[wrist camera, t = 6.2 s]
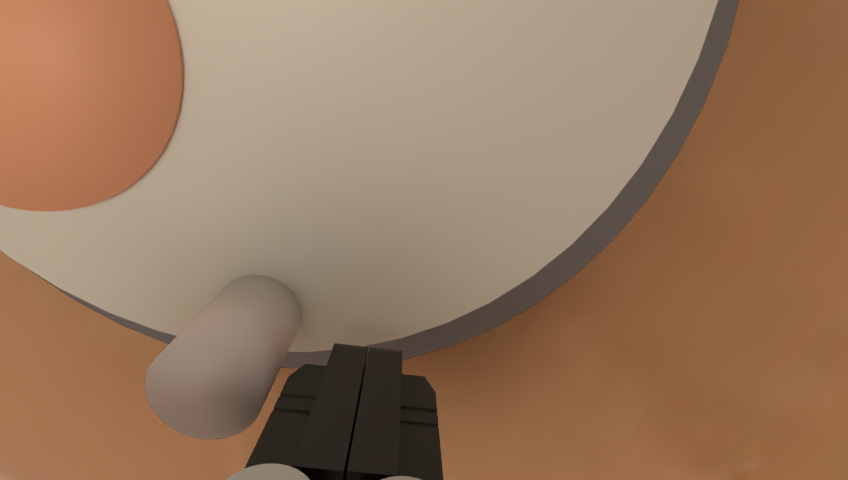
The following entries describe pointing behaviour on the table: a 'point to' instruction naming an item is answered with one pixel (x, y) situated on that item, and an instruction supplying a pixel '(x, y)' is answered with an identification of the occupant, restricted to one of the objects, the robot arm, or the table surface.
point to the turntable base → (576, 253)
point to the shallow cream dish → (316, 164)
